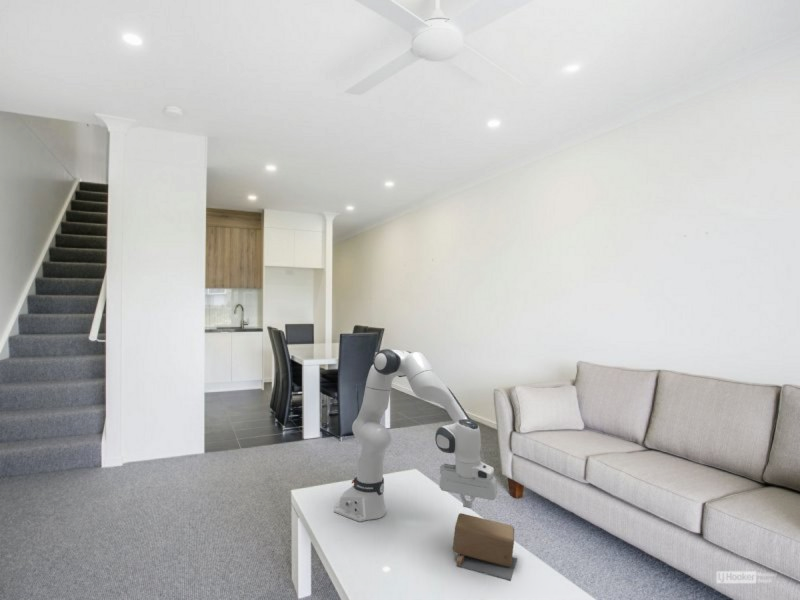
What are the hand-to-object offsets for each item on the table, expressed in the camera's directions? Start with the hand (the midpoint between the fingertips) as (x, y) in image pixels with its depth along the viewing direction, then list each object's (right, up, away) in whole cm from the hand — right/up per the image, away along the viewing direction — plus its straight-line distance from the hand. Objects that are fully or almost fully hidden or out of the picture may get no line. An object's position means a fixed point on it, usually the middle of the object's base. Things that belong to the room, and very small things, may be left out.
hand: (467, 507), depth 151 cm
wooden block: (-4, -10, +3) cm, 11 cm away
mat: (+6, -18, -3) cm, 19 cm away
